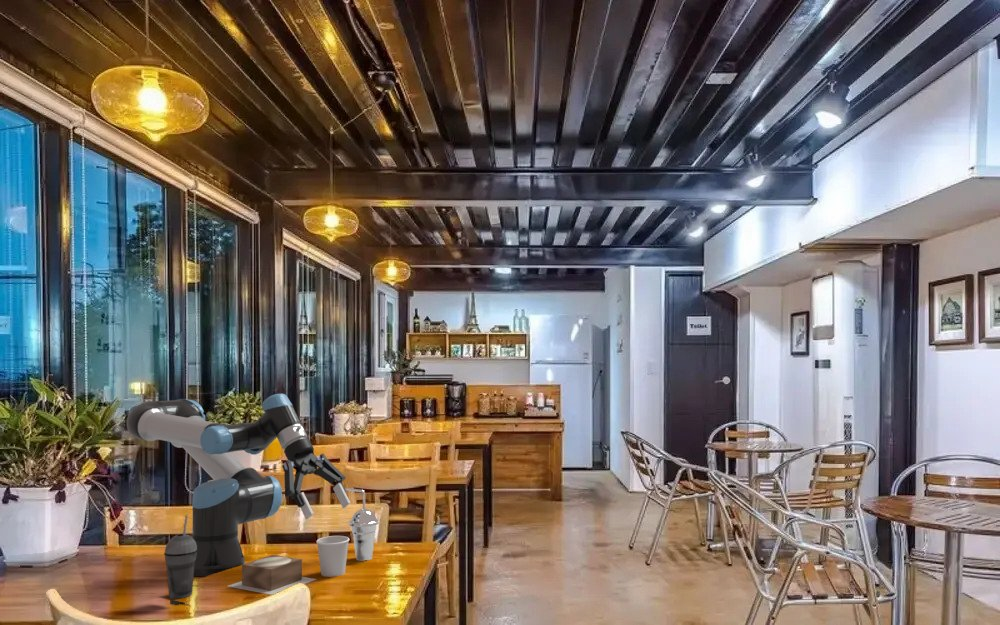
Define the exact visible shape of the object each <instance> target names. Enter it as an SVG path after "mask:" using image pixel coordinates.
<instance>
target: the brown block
mask: <svg viewBox="0 0 1000 625" xmlns="http://www.w3.org/2000/svg"><path fill="white" fill-rule="evenodd" d="M241 573H242V574H241V579H242V580H241V581H242V586H248V587H253V588H258V589H264V590H269V591H273V590H275V589H278V588H281V587H284V586H286V585H289V584H292V583H295V582H297V581H300V580H302V577H303V559H302V558H296V557H290V556H282V555H275V554H272V555H269V556H265V557H262V558H259V559H256V560H252V561H249V562H245V563H244V564H242V565H241Z"/></svg>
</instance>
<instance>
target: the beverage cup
mask: <svg viewBox="0 0 1000 625" xmlns="http://www.w3.org/2000/svg"><path fill="white" fill-rule="evenodd" d="M187 524H188V515H187V514H186V515H185V516H184V523H183V532H182V533H179V534H176V535H175V536H172V537H171V538H170V539H169V540H168V542H167V543H166V546H165V549H164V559H165V563H166V573H167V574H166V575H167V584H168V585H167V586H168V597H169V598H170V599H169V604H170V605H171V604H174V605H173V606H180V605H179V604H182V605H186V604H185V603H186V602H184V601H179V599H185V598H188V597H190V596H192V594H193V587H194V586H193V585H194V577H195V576H194V567H195V559H196V555H197V551H198V550H197V545H196V542H195V540H194V539H193V538H192V536H191V535H189V534H186V533H187V532H186V531H187ZM174 599H175V600H174Z"/></svg>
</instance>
